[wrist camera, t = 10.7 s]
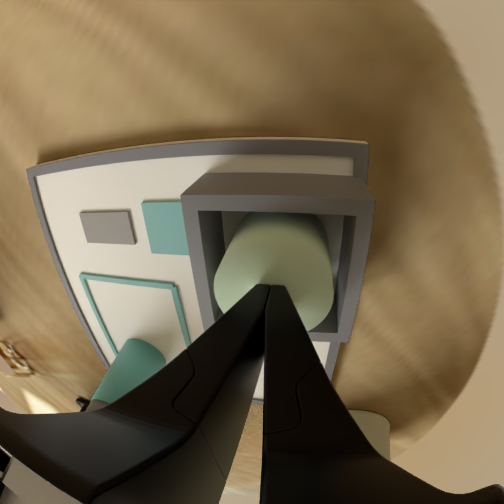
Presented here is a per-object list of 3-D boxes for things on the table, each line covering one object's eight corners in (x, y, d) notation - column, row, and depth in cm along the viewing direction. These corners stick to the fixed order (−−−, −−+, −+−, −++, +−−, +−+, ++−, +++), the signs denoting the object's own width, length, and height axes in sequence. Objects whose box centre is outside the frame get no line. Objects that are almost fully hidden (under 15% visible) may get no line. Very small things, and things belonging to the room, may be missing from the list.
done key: (324, 286, 12) (326, 340, 9) (238, 281, 12) (220, 332, 10) (332, 203, 10) (340, 245, 7) (231, 200, 11) (207, 239, 8)
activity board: (322, 399, 17) (321, 437, 15) (112, 366, 20) (96, 394, 18) (365, 141, 9) (386, 159, 7) (35, 164, 12) (-4, 184, 10)
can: (386, 444, 21) (385, 555, 11) (292, 453, 24) (275, 559, 13) (394, 400, 17) (399, 558, 7) (269, 413, 19) (239, 560, 9)
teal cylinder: (170, 373, 18) (136, 452, 12) (132, 364, 18) (94, 435, 13) (159, 343, 16) (115, 430, 11) (118, 334, 17) (71, 411, 11)
